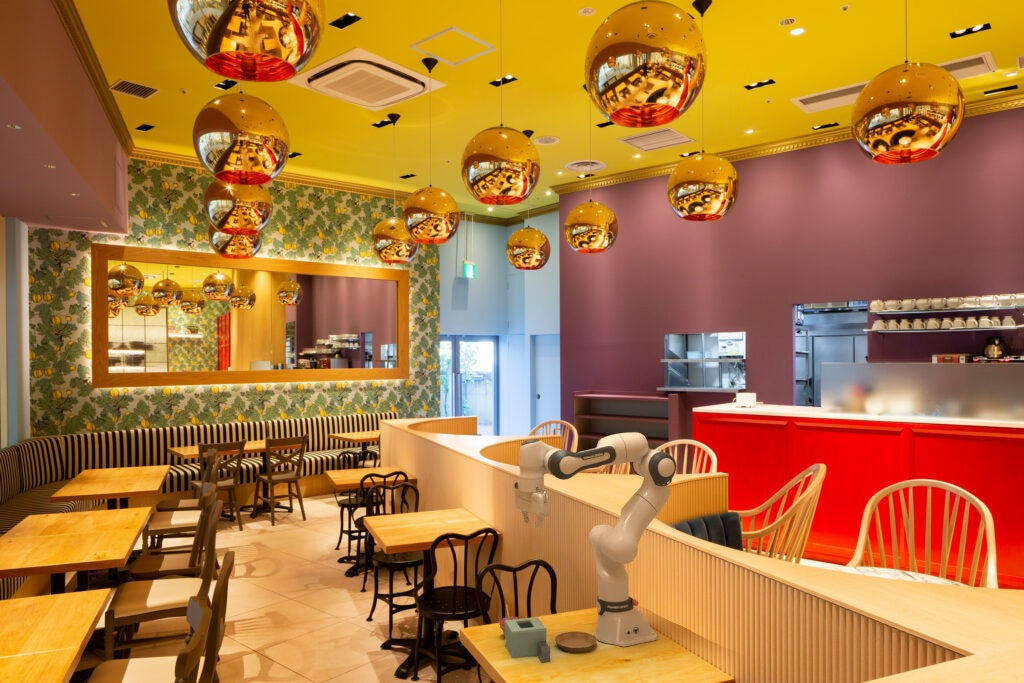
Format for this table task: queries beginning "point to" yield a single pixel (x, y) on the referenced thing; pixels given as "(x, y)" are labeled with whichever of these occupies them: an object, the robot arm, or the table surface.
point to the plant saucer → (575, 641)
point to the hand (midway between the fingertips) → (532, 525)
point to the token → (543, 651)
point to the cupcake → (502, 623)
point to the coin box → (524, 636)
